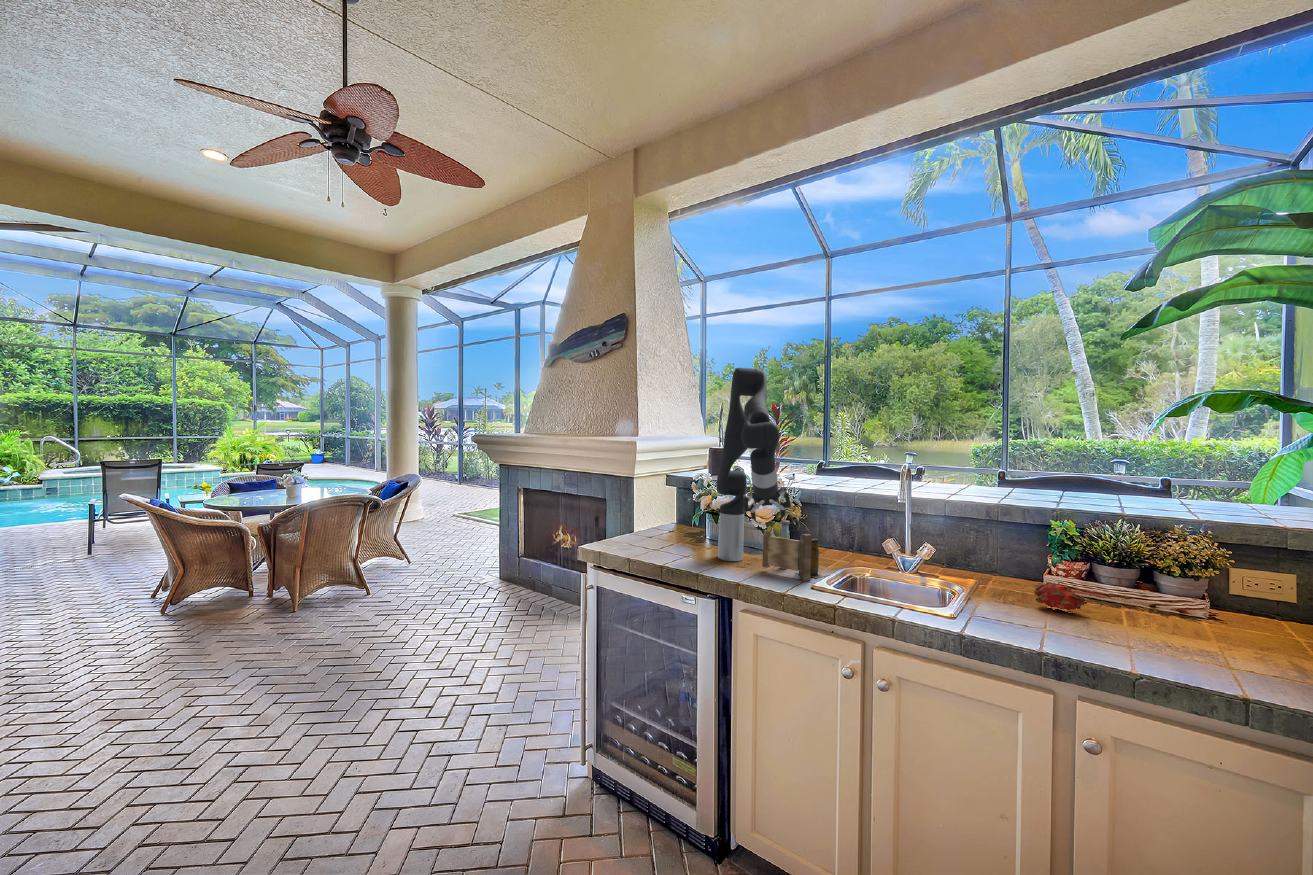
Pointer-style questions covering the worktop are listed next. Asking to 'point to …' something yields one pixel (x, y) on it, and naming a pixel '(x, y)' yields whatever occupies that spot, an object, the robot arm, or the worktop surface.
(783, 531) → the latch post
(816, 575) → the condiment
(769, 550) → the gate
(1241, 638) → the worktop surface
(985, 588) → the worktop surface
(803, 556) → the hinge post
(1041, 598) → the dragon fruit
